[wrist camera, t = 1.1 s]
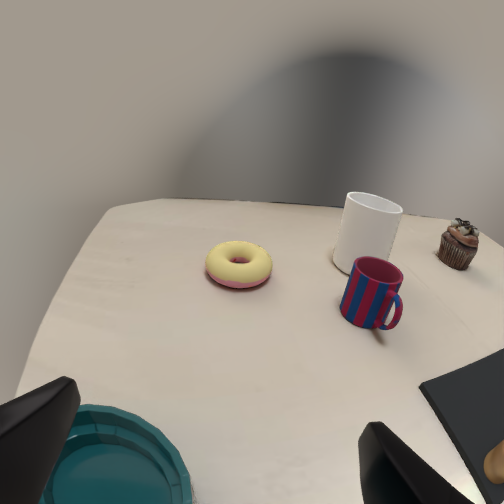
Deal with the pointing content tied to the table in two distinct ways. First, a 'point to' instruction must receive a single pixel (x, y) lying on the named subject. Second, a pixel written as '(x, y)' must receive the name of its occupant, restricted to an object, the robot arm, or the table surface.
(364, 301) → the cup
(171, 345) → the table surface
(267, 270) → the donut
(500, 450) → the stick
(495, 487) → the mat
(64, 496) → the bowl
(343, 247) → the mug
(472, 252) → the cupcake
